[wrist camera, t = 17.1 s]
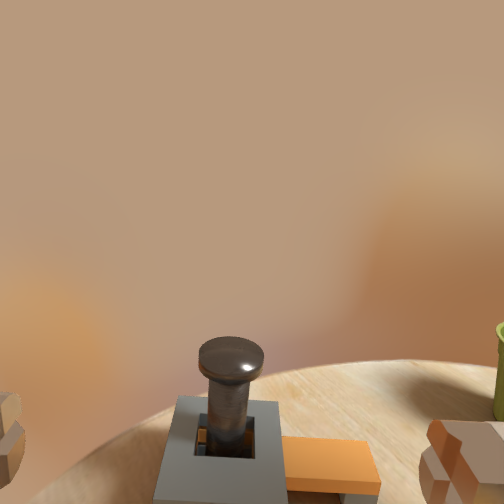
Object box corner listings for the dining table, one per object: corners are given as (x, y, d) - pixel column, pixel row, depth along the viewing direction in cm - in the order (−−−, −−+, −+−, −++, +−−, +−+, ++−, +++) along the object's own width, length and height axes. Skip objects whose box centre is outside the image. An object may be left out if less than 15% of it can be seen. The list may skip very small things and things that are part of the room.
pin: (250, 460, 44) (262, 338, 39) (251, 508, 39) (265, 374, 34) (196, 456, 44) (202, 334, 39) (189, 504, 38) (195, 369, 34)
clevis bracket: (355, 448, 47) (363, 406, 45) (390, 563, 35) (403, 512, 33) (177, 438, 46) (178, 395, 44) (152, 551, 34) (152, 499, 32)
